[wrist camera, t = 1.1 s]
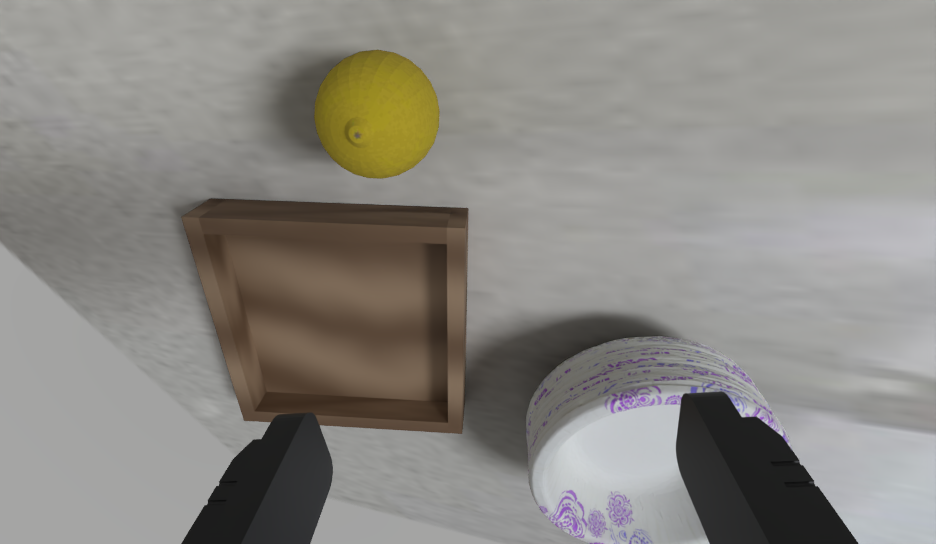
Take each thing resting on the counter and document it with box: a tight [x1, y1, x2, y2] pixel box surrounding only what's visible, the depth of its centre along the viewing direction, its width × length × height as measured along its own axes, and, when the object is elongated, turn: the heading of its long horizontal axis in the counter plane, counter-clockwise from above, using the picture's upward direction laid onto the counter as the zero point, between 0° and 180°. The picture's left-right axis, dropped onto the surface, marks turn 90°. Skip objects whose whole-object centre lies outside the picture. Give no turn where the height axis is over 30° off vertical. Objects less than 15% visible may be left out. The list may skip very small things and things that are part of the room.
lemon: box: [314, 50, 439, 178], centre depth 22 cm, size 6×6×8 cm
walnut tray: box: [181, 199, 468, 434], centre depth 31 cm, size 16×16×3 cm
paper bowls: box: [526, 336, 792, 544], centre depth 31 cm, size 15×15×8 cm
